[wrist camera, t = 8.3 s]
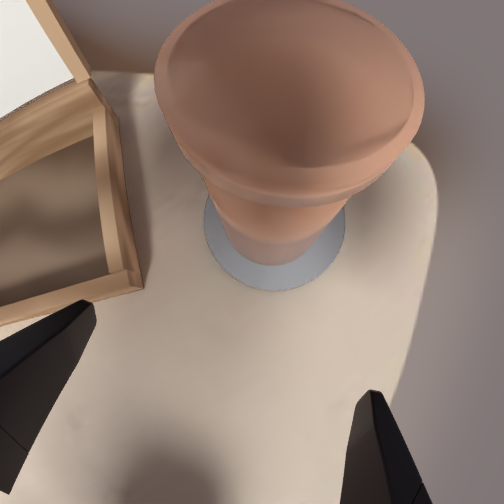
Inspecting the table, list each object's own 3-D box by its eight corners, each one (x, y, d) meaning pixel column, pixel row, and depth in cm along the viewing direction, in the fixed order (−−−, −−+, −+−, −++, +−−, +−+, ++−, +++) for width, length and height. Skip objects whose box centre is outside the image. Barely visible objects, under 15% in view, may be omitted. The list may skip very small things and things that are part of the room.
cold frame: (144, 288, 21) (103, 280, 15) (-22, 331, 20) (-69, 331, 14) (118, 118, 23) (88, 74, 17) (-29, 191, 23) (-67, 171, 17)
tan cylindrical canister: (311, 281, 20) (422, 220, 6) (206, 256, 20) (109, 149, 6) (331, 183, 21) (416, 22, 7) (234, 160, 21) (206, -20, 7)
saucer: (358, 269, 21) (362, 267, 20) (225, 307, 20) (223, 307, 19) (316, 148, 22) (318, 142, 21) (193, 179, 22) (190, 173, 21)
